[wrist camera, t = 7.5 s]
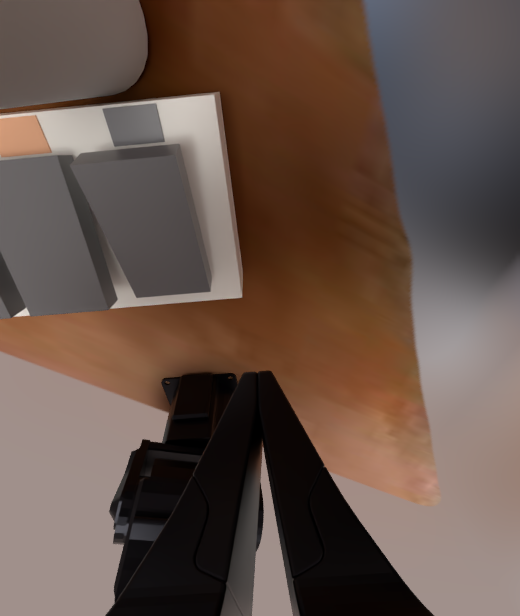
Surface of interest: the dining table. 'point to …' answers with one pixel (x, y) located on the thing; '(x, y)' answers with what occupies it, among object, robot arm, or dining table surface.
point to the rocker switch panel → (143, 133)
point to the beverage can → (69, 49)
